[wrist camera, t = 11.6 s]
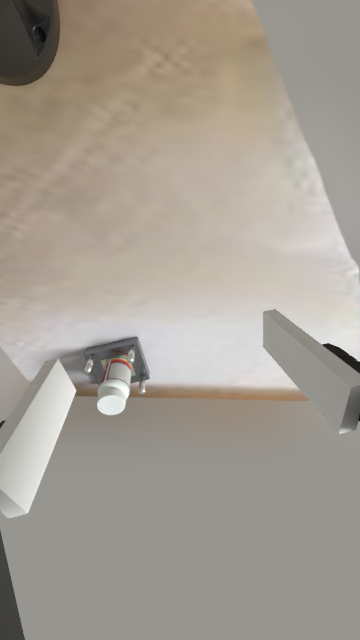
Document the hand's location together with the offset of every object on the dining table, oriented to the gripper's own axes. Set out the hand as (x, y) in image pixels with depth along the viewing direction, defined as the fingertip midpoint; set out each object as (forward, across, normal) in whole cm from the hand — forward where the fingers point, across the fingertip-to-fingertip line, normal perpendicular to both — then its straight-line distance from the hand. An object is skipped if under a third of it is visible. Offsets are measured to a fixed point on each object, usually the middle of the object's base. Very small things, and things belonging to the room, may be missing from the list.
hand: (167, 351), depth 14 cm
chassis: (+33, -14, -22) cm, 42 cm away
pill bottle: (+30, -14, -22) cm, 40 cm away
